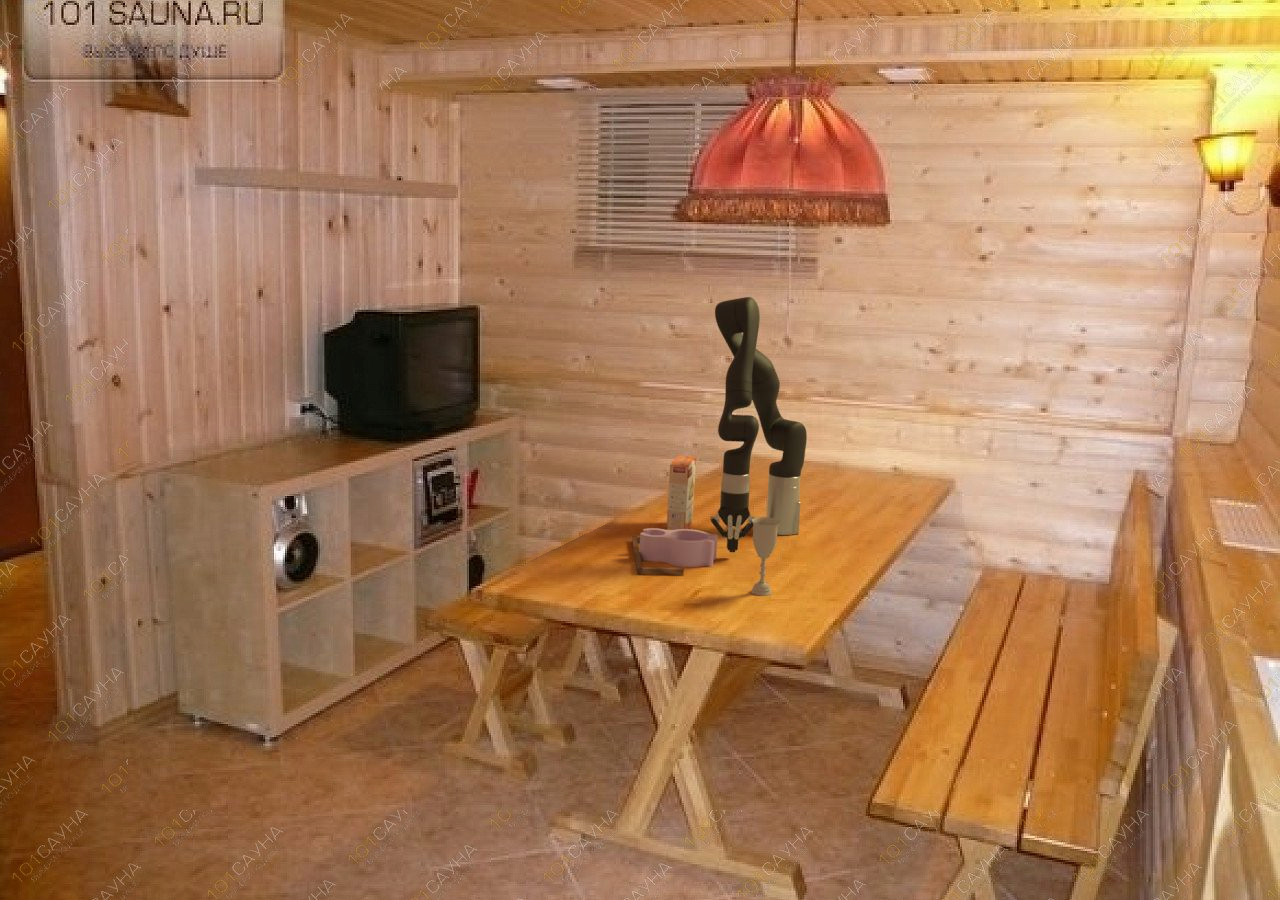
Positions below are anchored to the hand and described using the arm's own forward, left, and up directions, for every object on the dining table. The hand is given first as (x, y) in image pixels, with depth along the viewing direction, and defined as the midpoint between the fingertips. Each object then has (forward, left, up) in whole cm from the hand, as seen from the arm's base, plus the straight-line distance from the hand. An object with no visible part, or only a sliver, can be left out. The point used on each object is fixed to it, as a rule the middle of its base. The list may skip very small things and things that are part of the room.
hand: (731, 551), depth 291 cm
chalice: (-4, +27, -2) cm, 28 cm away
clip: (+15, +1, -2) cm, 15 cm away
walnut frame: (+20, 0, -2) cm, 20 cm away
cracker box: (+11, -28, -2) cm, 30 cm away
